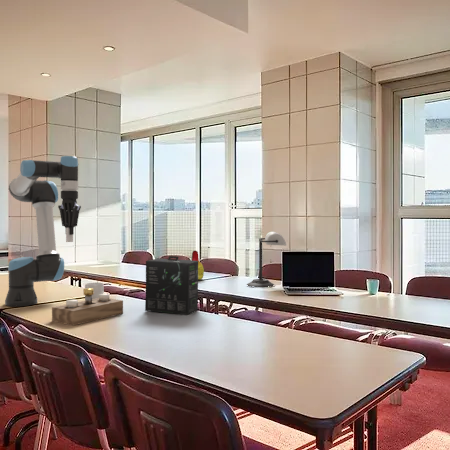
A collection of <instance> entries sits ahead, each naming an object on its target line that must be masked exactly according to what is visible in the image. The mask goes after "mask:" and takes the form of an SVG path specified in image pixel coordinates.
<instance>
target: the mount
mask: <svg viewBox="0 0 450 450" xmlns="http://www.w3.org/2000/svg"><path fill="white" fill-rule="evenodd" d="M122 314H124V301H123V300H122V299H116V298H115V299H114V298H110V300H108V301H106V302H101V301H100V300H99V298H96V299H92V305H85V300H82V301H78V306H77V307H76V308H72V309H70V308H68V307H66V303H65V304H60V305H55V306H52V307H51V321H52V322H55V323H60V324H64V323H65V324H66V325H71V326H77V325H81V324H86V323H88V322H89V321H90V322H93V320H94V321H97V319H98V320H101V319H106V318H109V317H113V316H118V315H122ZM65 324H64V325H65Z"/></svg>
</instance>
